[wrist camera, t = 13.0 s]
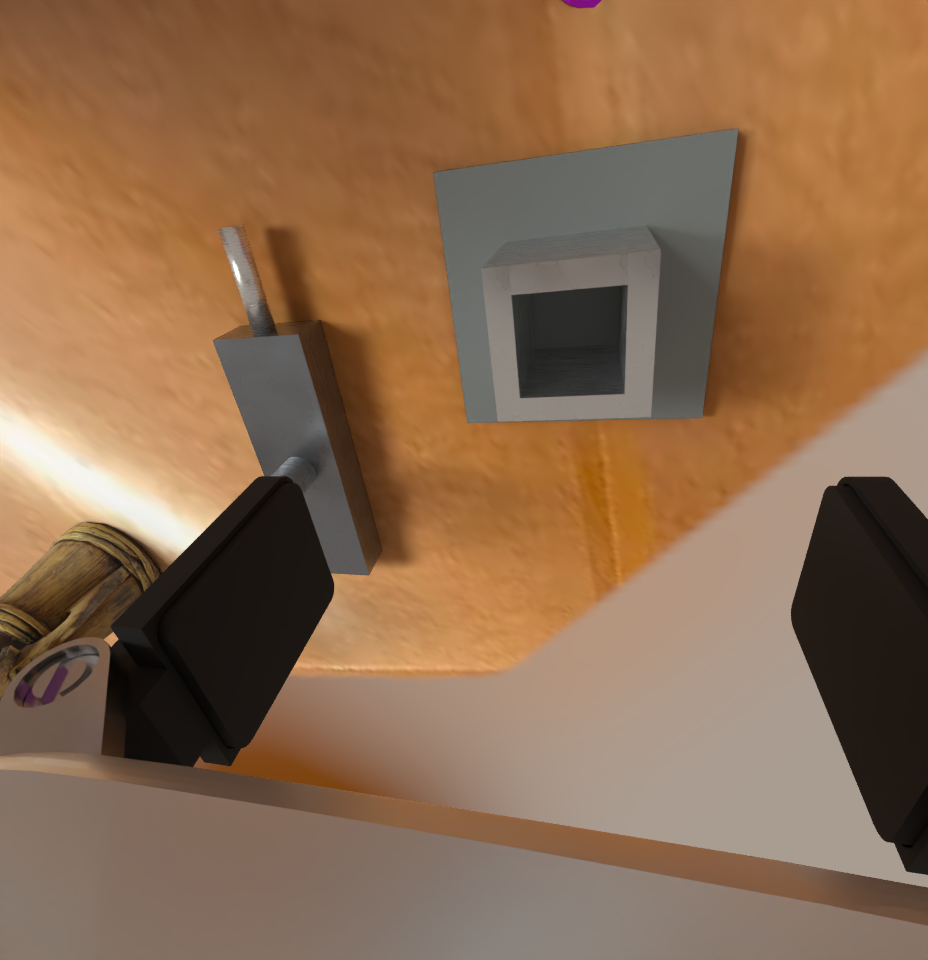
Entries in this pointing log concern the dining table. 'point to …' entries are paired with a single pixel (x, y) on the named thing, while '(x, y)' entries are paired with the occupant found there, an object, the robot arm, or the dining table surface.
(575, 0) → the cloth
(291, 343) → the block
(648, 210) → the slate pad
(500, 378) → the steel collar
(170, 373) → the dining table surface
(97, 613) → the wooden mug
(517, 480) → the dining table surface
